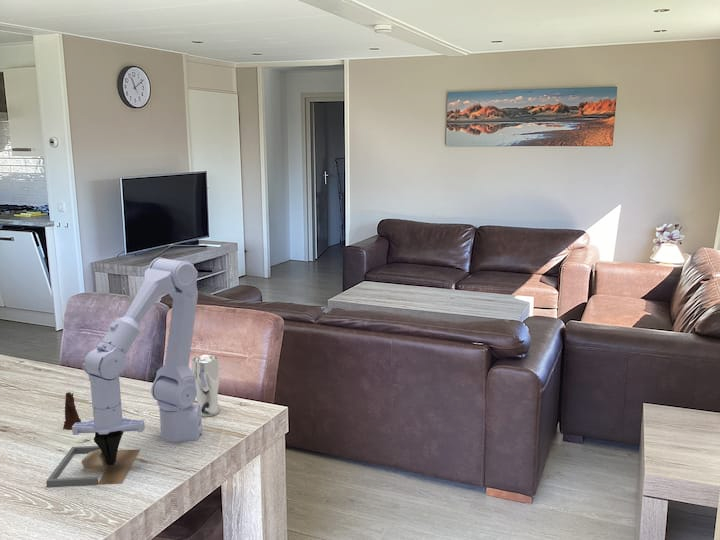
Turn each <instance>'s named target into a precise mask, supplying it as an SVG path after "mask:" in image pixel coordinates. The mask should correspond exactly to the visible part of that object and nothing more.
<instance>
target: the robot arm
mask: <svg viewBox="0 0 720 540" xmlns="http://www.w3.org/2000/svg"><path fill="white" fill-rule="evenodd" d="M198 274H199V271H198V270H197V269H196V267H195V266H194V264H192V263H191V262H190V261H187V260H178V259H177V260H174V259H169V258H168V259H167V258H165V257H156V258H155V259H153V260H152V261H151V262H150V263H149V265H148V268H146V270H145V271H144V277H143V278H144V280H143V282H142V284H141V286H140V288H139V289H138V291H137V293H136V295H135V296H134V299H133V301H132V302H131V304H130V305H129V307H128V309H127V311H126V313H125V314H124V316H122V317H118V318H116V319H114V321H112V322H111V323H110V325H109V329H108V331H107V332H106V333H105V335H104V337H103V338H102V339H101V340H100V342H99V343H98V345H97V347H96V348H94V349H93V350H90V351H89V352H88V353H87V354H86V355H85V358H84V362H83V363H82V369H83V371H84V372H85V374H87V375H88V381H89V383H90V394H91V403H92V404H91V405H92V415H93V416H92V417H93V419H92V420H87V421H81V422H80V423H75V424H74V425H73V426H72V430H71V431H72V435H73V436H78V435H79V434H93V433H94V437H93V441H94V443H95V444H96V446H98V447H99V448H100V449H101V451H102V453H103V455H104V457H105V459H106V462H107V465H114V464H115V462H116V457H117V451H118V450H119V446H120V442H121V439H122V437H123V434H124V432H137V433H143V432H144V431H145V427H146V426H145V420H144V419H131V418H124V417H123V411H122V410H123V409H122V408H123V407H122V397H121V386H120V385H121V384H120V383H121V381H120V375H121V373H123V371H124V369H125V365H126V363H125V362H126V358H127V353H128V352H129V349H130V348H131V347H132V345H133V343H134V342H135V340H137V337H138V336H139V335H140V332H141V331H140V327H139V325H140V323H141V322H142V320H143V319H144V318H145V316H146V315H147V313H149V311H150V309H151V308H152V307H153V305H154V304H155V303H156V302H157V300H158V299H159V297H160V296H165V295H169V296H170V298H172V305H171V313H170V315H171V316H170V320H169V321H170V322H169V323H170V324H169V329H168V337H167V344H166V354H165V361H164V365H163V366H161V367H159V369H157V371H156V376H155V379H154V381H153V382H152V385H151V389H150V390H151V391H150V392H151V396H152V397H153V399H154V400H155V401H157V406H158V408H159V410H158V411H159V422H160V423H159V424H160V439H161V440H162V441H163V442H167V443H181V442H187V441H189V442H190V441H191V442H192V441H199V440H200V436H201V435H202V433H203V424H202V423H203V422H202V417H201V407H200V405H199V404H197V403H195V401H196V400H197V389H196V385H195V381H196V377H195V375H194V374H193V372H192V368H190V357H191V350H192V343H193V334H194V326H195V322H196V321H195V320H196V312H197V303H198V296H199V291H198V286H197V282H198Z"/></svg>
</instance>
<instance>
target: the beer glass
mask: <svg viewBox="0 0 720 540" xmlns="http://www.w3.org/2000/svg"><path fill="white" fill-rule="evenodd" d="M191 360H192V363H191V371H192V372H193V374H194V375H195V377H196V381H195V385H196V389H197V396H196V401H197V402H196V404H199V405H200V407H201V418H202V417H203V418H208V417H213V416H216V415H218V414H219V413H220V405H219V402H218V401H219V400H218V393H219V387H220V378H221V377H220V375H221V374H220V365H219V357H218V355H215V354H201V355H197V356H196V355H195V356H194V357H193V358H192V359H191Z"/></svg>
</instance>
